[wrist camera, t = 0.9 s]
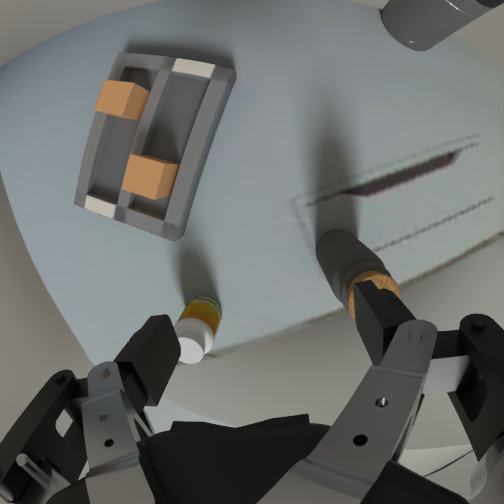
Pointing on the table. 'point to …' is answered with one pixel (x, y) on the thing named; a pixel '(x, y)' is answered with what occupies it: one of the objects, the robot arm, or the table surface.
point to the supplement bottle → (198, 328)
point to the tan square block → (122, 99)
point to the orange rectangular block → (149, 176)
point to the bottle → (350, 266)
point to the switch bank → (155, 140)
